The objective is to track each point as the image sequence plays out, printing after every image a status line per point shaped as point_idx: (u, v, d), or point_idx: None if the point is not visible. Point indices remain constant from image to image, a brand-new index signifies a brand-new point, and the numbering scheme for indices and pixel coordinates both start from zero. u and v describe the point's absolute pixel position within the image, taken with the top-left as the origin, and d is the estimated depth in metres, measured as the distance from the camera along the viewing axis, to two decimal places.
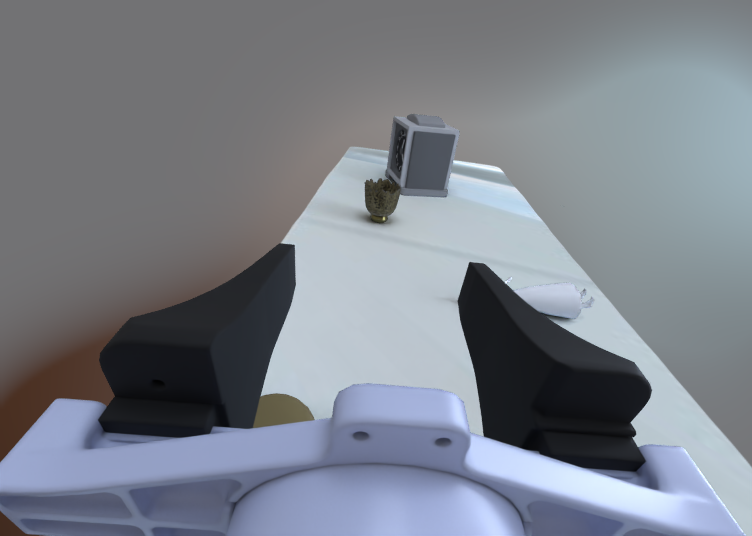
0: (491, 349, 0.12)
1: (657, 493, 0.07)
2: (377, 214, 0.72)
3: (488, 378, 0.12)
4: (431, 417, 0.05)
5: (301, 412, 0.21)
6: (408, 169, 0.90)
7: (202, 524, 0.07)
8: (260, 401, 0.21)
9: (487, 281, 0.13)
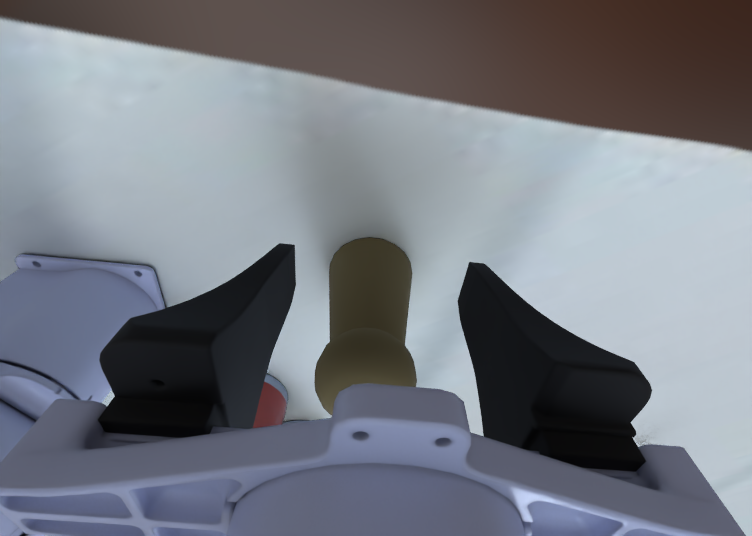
0: (491, 349, 0.12)
1: (657, 493, 0.07)
2: None
3: (488, 378, 0.12)
4: (431, 417, 0.05)
5: None
6: None
7: (202, 524, 0.07)
8: None
9: (487, 281, 0.13)
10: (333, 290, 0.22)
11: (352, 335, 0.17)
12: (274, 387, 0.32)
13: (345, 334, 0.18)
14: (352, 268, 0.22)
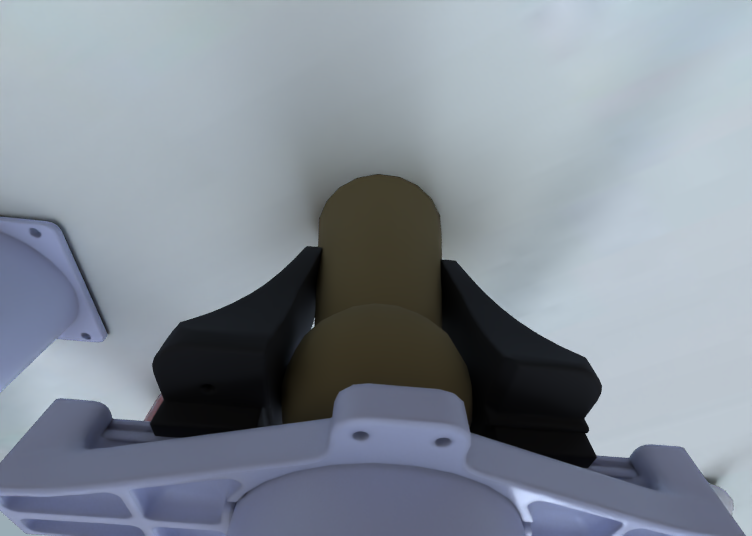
0: (456, 346, 0.12)
1: (657, 493, 0.07)
2: None
3: None
4: (431, 417, 0.05)
5: None
6: None
7: (202, 524, 0.07)
8: None
9: (454, 278, 0.13)
10: (322, 250, 0.14)
11: (352, 315, 0.09)
12: None
13: (339, 315, 0.09)
14: (353, 213, 0.14)
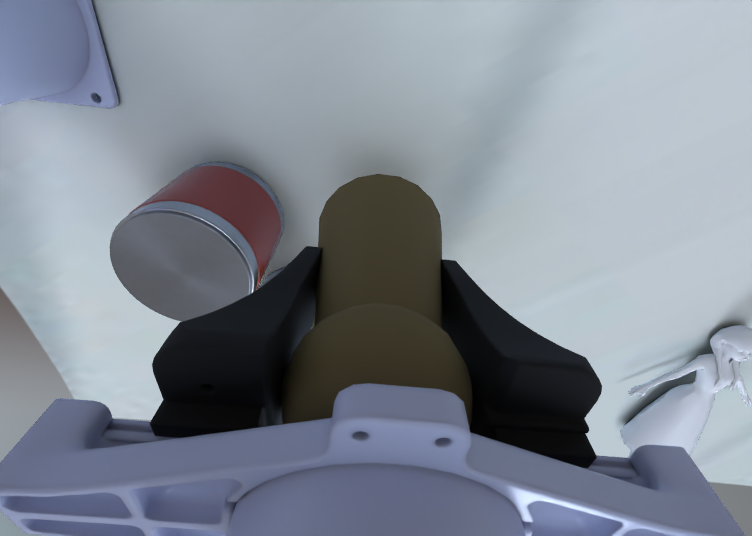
0: (456, 346, 0.12)
1: (657, 493, 0.07)
2: None
3: None
4: (431, 417, 0.05)
5: None
6: None
7: (202, 524, 0.07)
8: None
9: (454, 278, 0.13)
10: (322, 250, 0.14)
11: (352, 315, 0.09)
12: (264, 190, 0.23)
13: (339, 315, 0.09)
14: (353, 213, 0.14)
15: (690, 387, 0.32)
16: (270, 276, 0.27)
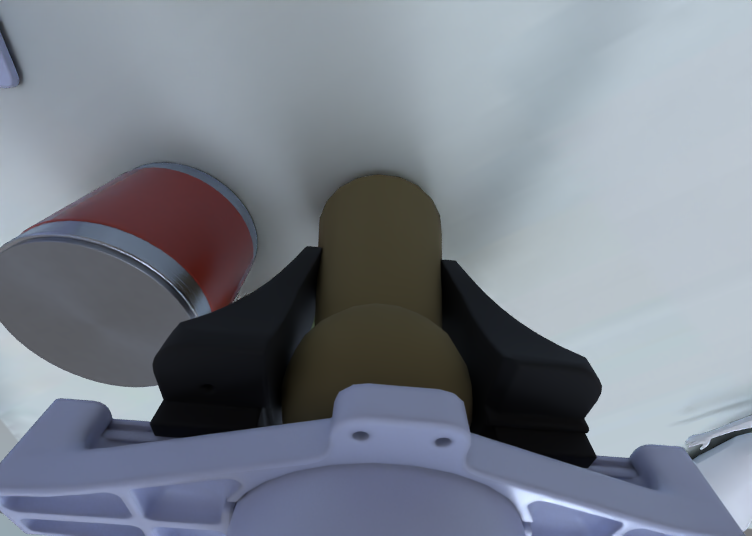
0: (456, 346, 0.12)
1: (657, 493, 0.07)
2: None
3: None
4: (431, 417, 0.05)
5: None
6: None
7: (202, 524, 0.07)
8: None
9: (454, 278, 0.13)
10: (322, 250, 0.14)
11: (352, 315, 0.09)
12: (228, 200, 0.17)
13: (339, 315, 0.09)
14: (353, 214, 0.14)
15: None
16: None
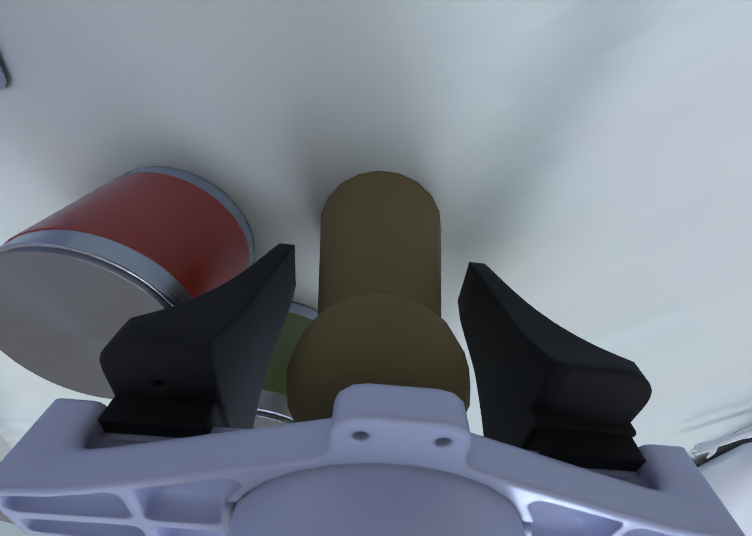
0: (491, 349, 0.12)
1: (657, 493, 0.07)
2: None
3: (488, 378, 0.12)
4: (431, 417, 0.05)
5: None
6: None
7: (202, 524, 0.07)
8: None
9: (487, 281, 0.13)
10: (324, 244, 0.14)
11: (355, 303, 0.09)
12: (223, 205, 0.16)
13: (342, 303, 0.10)
14: (354, 209, 0.14)
15: None
16: None
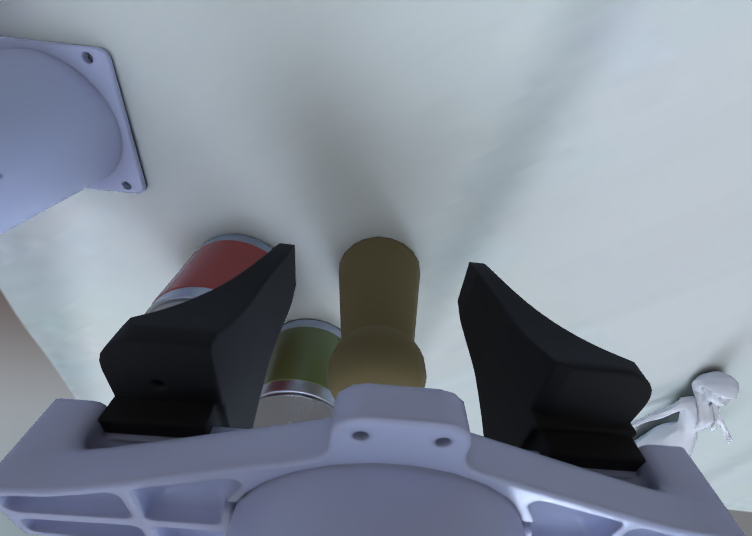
0: (491, 349, 0.12)
1: (657, 493, 0.07)
2: None
3: (488, 378, 0.12)
4: (431, 417, 0.05)
5: None
6: None
7: (202, 524, 0.07)
8: None
9: (487, 281, 0.13)
10: (344, 288, 0.23)
11: (364, 331, 0.18)
12: None
13: (357, 331, 0.18)
14: (362, 266, 0.23)
15: (673, 426, 0.34)
16: None
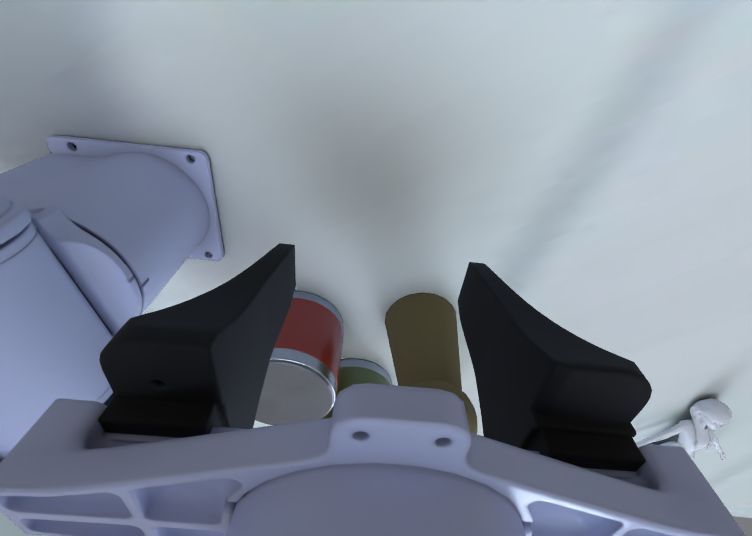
0: (491, 349, 0.12)
1: (657, 493, 0.07)
2: None
3: (488, 378, 0.12)
4: (431, 417, 0.05)
5: None
6: None
7: (202, 524, 0.07)
8: None
9: (487, 281, 0.13)
10: (396, 341, 0.27)
11: None
12: (332, 313, 0.29)
13: None
14: (412, 322, 0.27)
15: (674, 445, 0.38)
16: None
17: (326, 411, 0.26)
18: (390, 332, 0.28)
